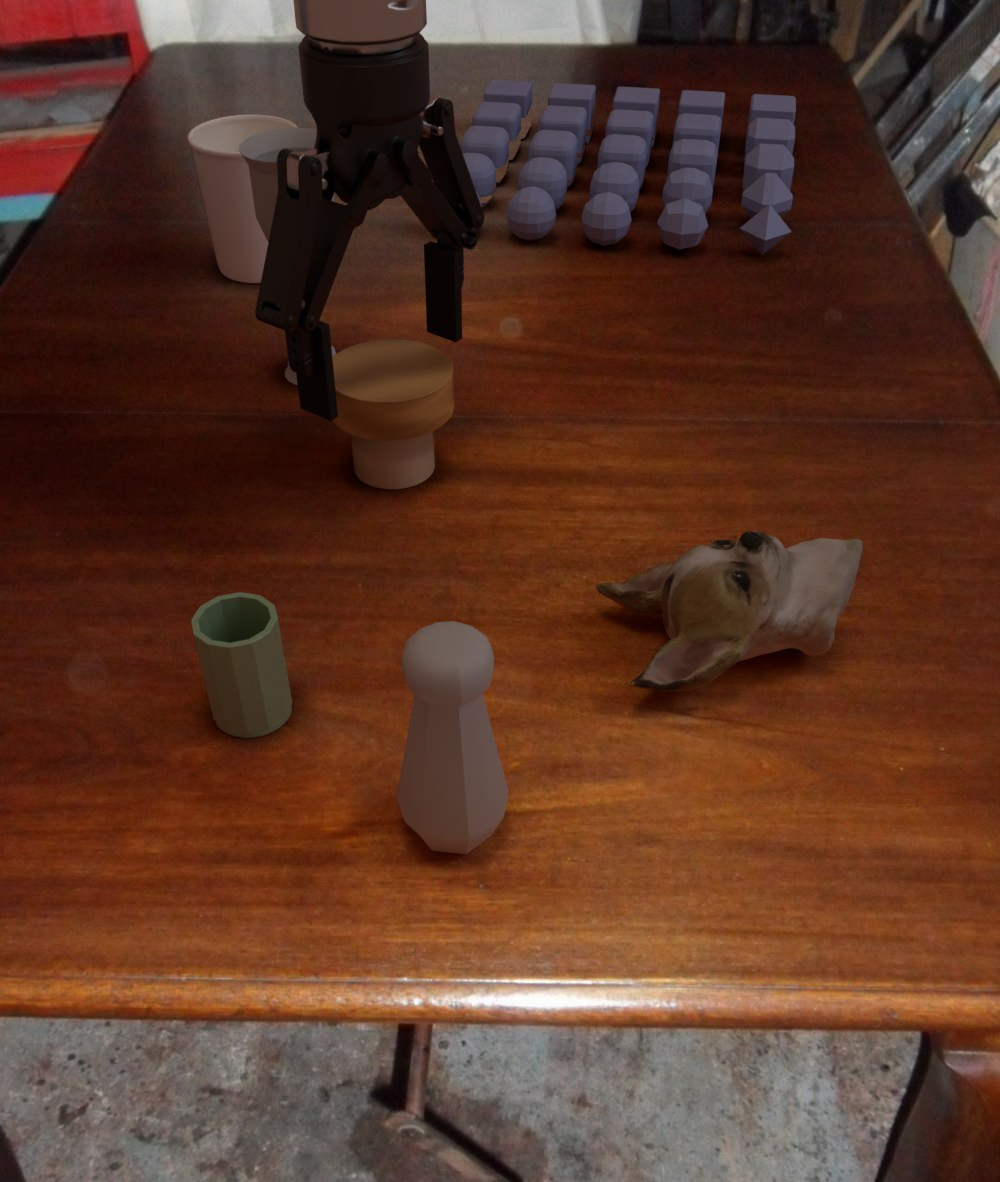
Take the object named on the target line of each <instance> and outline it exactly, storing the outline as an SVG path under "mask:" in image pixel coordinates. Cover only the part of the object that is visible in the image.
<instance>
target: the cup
mask: <svg viewBox="0 0 1000 1182" xmlns="http://www.w3.org/2000/svg"><path fill="white" fill-rule="evenodd" d="M190 623H191V629H192V634H193V639H194V643H195V647H196V651H197V655H198V659H199V664H200V668H201V672H202V676H203V680H204V681H203V682H204V685H205V688H206V692H207V697H208V701H209V705H210V710H211V714H212V718H213V720H214V723H215V725H216V726H217V728H219V729H220V730H221V731H223V732H224V733H225V734H227V735H229V736H232V737H235V738H241V739H251V738H253V739H254V738H260V737H263V736H266V735H270V734H271V733H274V732H275V731H277V730H279V729H280V728H281V727H282V726H283V725H285V724H286V723H287V721H289V719H290V717H291V714H292V712H293V698H292V691H291V687H290V679H289V675H288V674H289V673H288V668H287V662H286V656H285V650H284V645H283V640H282V634H281V628H280V627H281V626H280V621H279V616H278V613H277V608H276V605H275V604H274V603H272V602H271V601H269V600H268V599H267V598H265V597H264V596H262V595H260V594H256V593H255V594H254V593H249V592H242V591H239V592H233V593H227V594H222V595H217V596H215V597H213V598H212V599H210V600H208V601H207V602H204V603H203V604H202V605H200V606H199V607H198V609H197V610H196V611H195V613H194V615H193V616H192V618H191V619H190Z"/></svg>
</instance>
